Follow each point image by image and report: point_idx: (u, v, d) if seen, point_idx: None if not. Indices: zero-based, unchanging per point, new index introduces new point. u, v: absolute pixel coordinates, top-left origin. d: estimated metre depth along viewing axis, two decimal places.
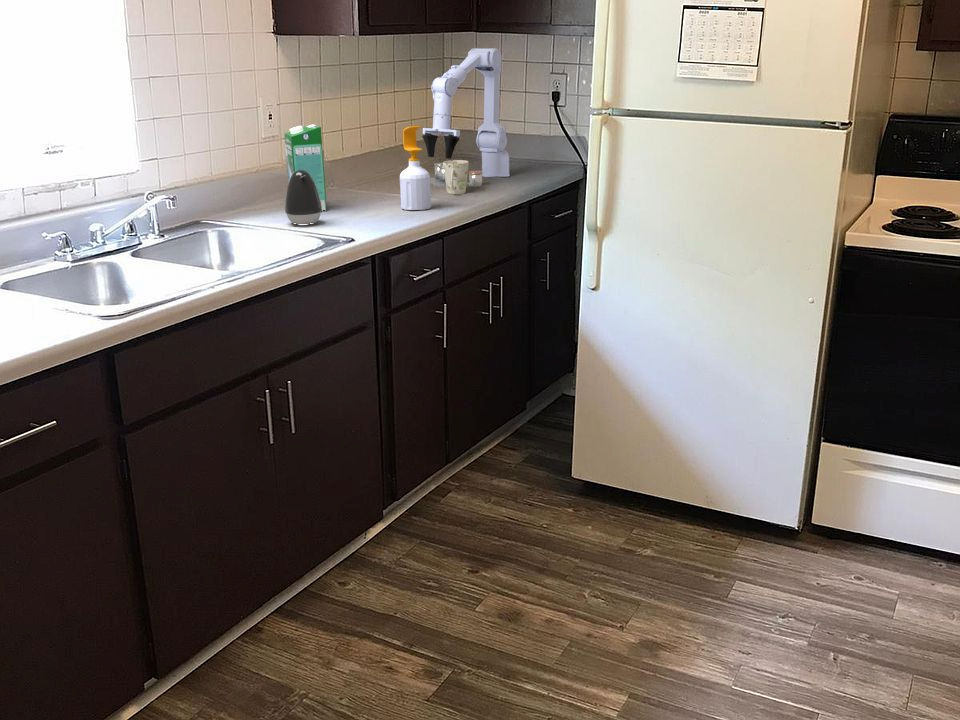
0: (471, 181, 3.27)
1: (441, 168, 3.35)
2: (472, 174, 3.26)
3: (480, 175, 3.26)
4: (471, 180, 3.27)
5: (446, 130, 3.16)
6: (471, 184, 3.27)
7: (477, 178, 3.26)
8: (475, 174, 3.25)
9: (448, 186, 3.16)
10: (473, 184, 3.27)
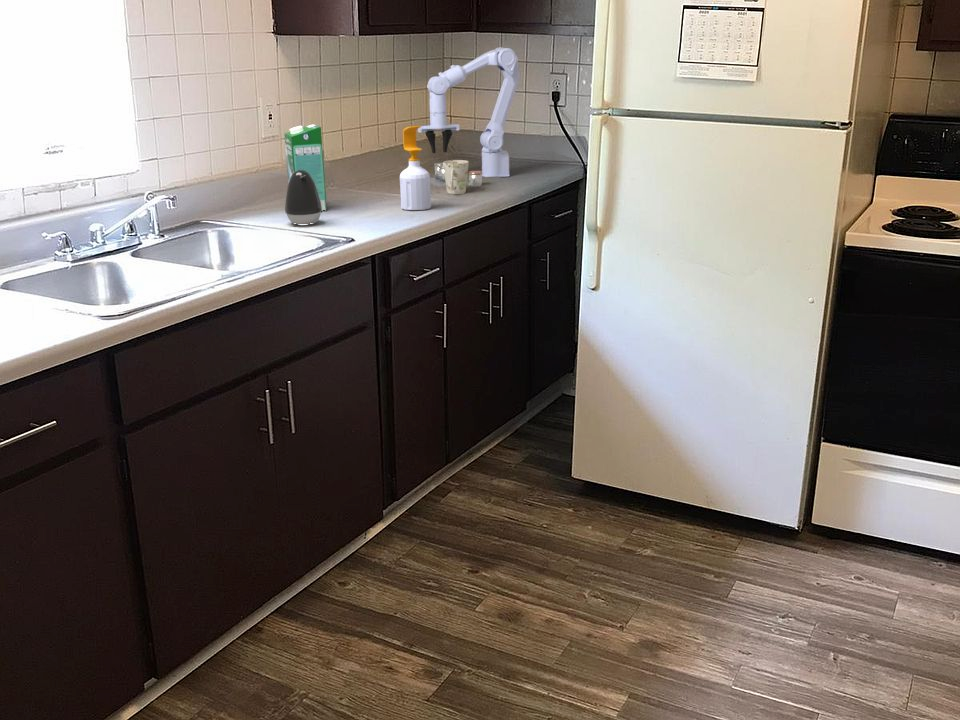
0: (471, 181, 3.27)
1: (441, 168, 3.35)
2: (472, 174, 3.26)
3: (480, 175, 3.26)
4: (471, 180, 3.27)
5: None
6: (471, 184, 3.27)
7: (477, 178, 3.26)
8: (475, 174, 3.25)
9: (448, 186, 3.16)
10: (473, 184, 3.27)
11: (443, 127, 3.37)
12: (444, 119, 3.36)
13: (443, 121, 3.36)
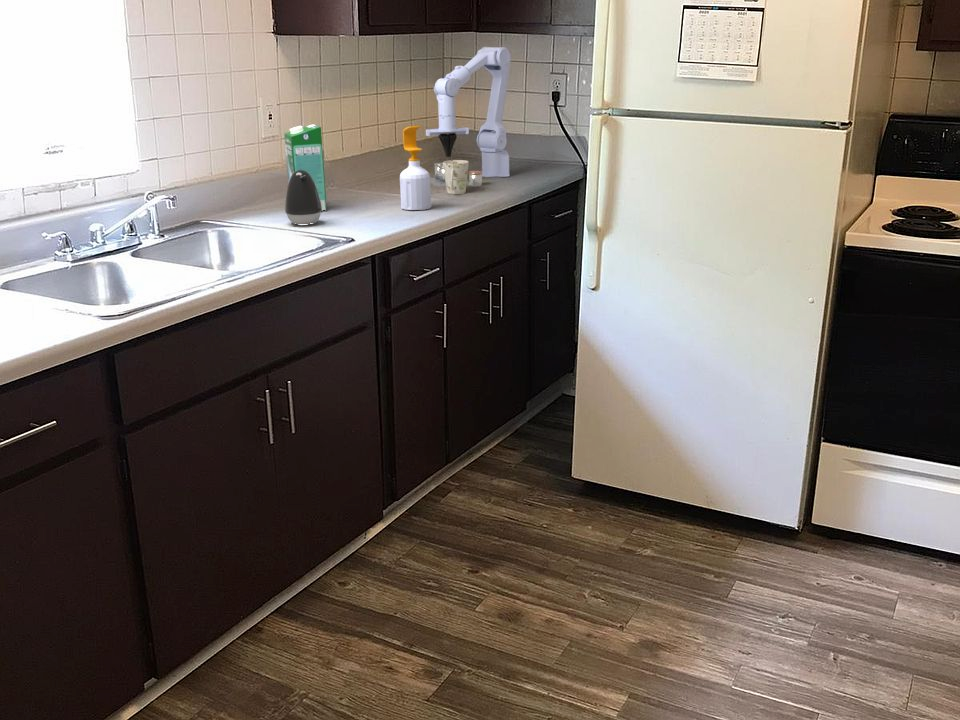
0: (471, 181, 3.27)
1: (441, 168, 3.35)
2: (472, 174, 3.26)
3: (480, 175, 3.26)
4: (471, 180, 3.27)
5: None
6: (471, 184, 3.27)
7: (477, 178, 3.26)
8: (475, 174, 3.25)
9: (448, 186, 3.16)
10: (473, 184, 3.27)
11: (452, 130, 3.26)
12: (453, 122, 3.26)
13: (452, 124, 3.26)
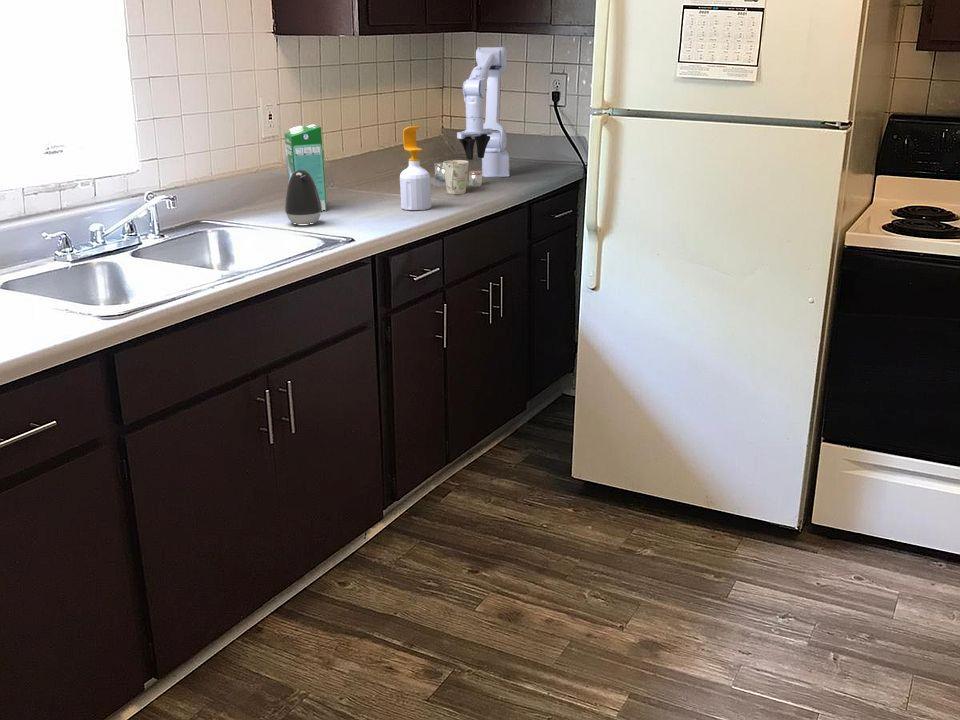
0: (471, 181, 3.27)
1: (441, 168, 3.35)
2: (472, 174, 3.26)
3: (480, 175, 3.26)
4: (471, 180, 3.27)
5: None
6: (471, 184, 3.27)
7: (477, 178, 3.26)
8: (475, 174, 3.25)
9: (448, 186, 3.16)
10: (473, 184, 3.27)
11: (483, 132, 3.22)
12: None
13: (482, 125, 3.21)
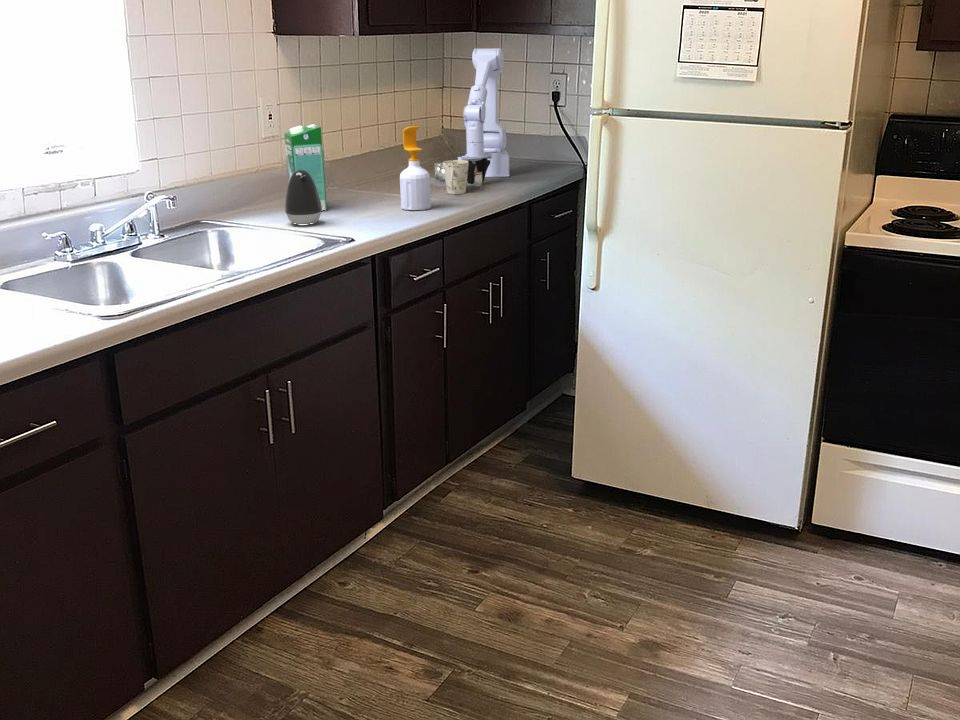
0: None
1: (441, 168, 3.35)
2: None
3: (480, 175, 3.26)
4: None
5: None
6: (471, 184, 3.27)
7: (477, 178, 3.26)
8: (475, 174, 3.25)
9: (448, 186, 3.16)
10: (473, 184, 3.27)
11: (483, 156, 3.24)
12: (483, 148, 3.24)
13: (483, 150, 3.24)
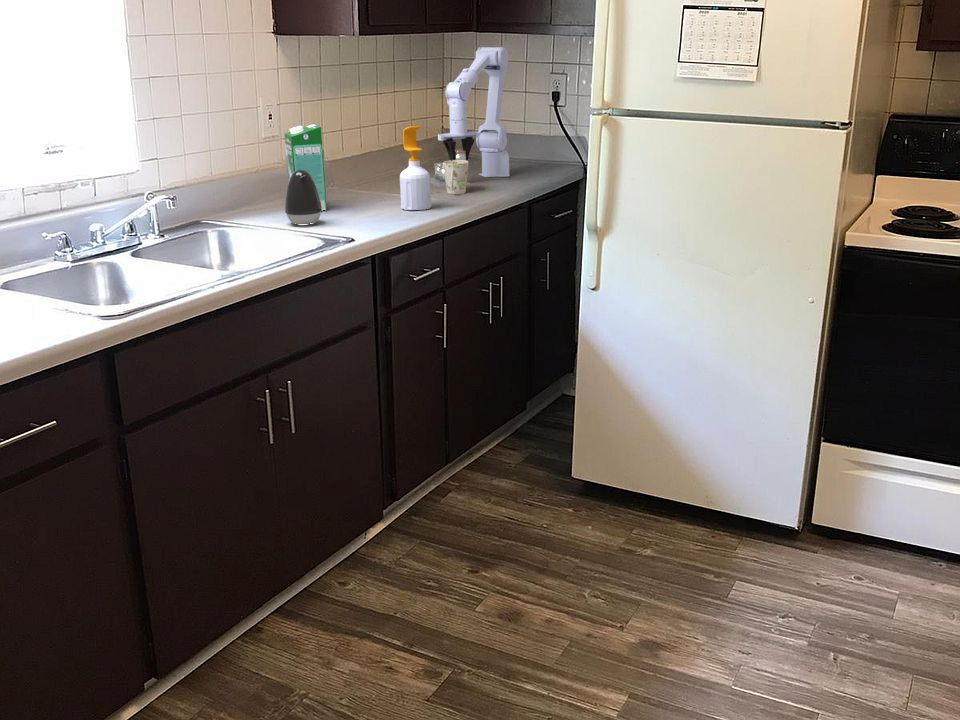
0: None
1: (441, 168, 3.35)
2: None
3: (462, 154, 3.26)
4: None
5: None
6: None
7: (459, 156, 3.26)
8: (457, 152, 3.25)
9: (448, 186, 3.16)
10: None
11: (465, 134, 3.24)
12: (465, 126, 3.24)
13: (465, 128, 3.23)
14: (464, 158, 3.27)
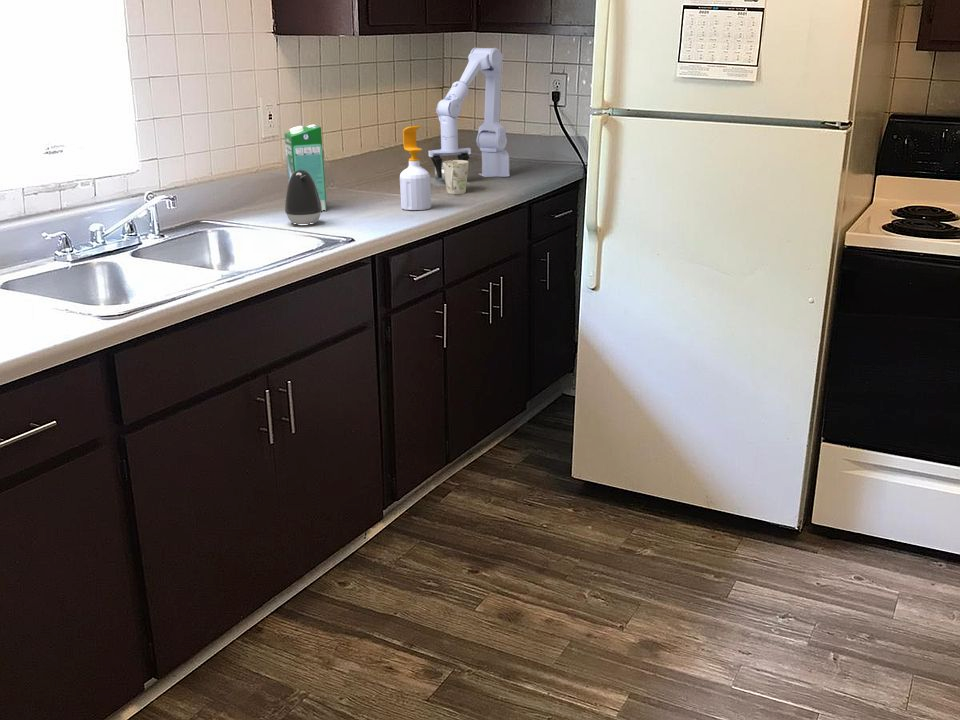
0: None
1: (441, 168, 3.35)
2: None
3: None
4: None
5: None
6: None
7: None
8: None
9: (448, 186, 3.16)
10: None
11: (455, 151, 3.27)
12: (456, 143, 3.27)
13: (455, 145, 3.26)
14: None
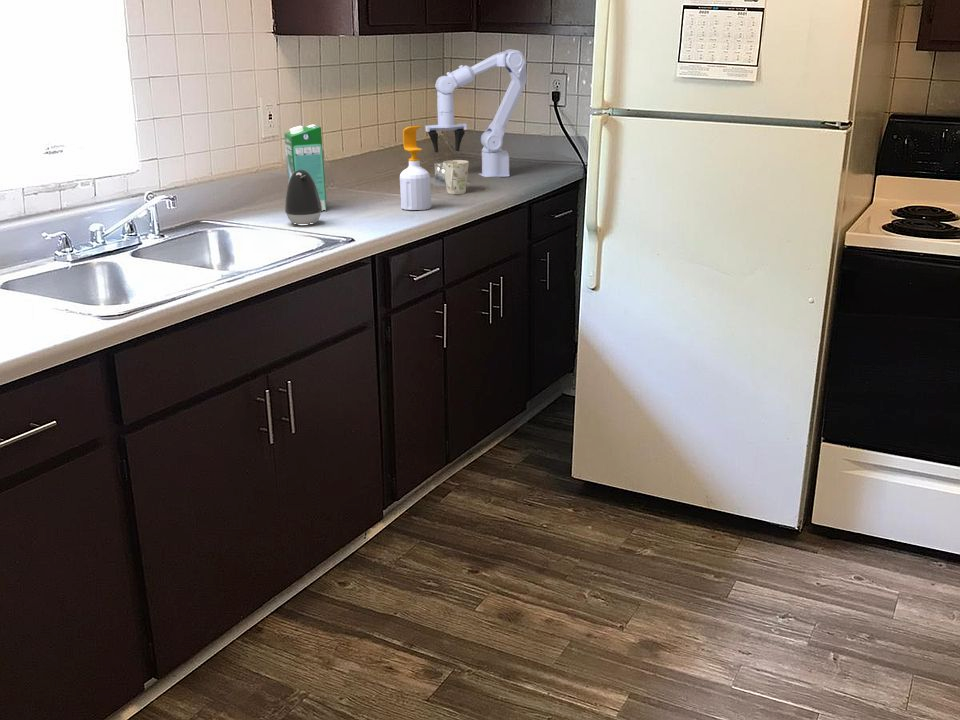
0: None
1: (441, 168, 3.35)
2: None
3: None
4: None
5: None
6: None
7: None
8: None
9: (448, 186, 3.16)
10: None
11: (451, 126, 3.38)
12: (452, 118, 3.38)
13: (451, 120, 3.38)
14: None
